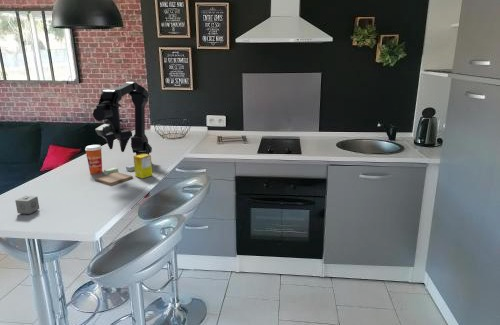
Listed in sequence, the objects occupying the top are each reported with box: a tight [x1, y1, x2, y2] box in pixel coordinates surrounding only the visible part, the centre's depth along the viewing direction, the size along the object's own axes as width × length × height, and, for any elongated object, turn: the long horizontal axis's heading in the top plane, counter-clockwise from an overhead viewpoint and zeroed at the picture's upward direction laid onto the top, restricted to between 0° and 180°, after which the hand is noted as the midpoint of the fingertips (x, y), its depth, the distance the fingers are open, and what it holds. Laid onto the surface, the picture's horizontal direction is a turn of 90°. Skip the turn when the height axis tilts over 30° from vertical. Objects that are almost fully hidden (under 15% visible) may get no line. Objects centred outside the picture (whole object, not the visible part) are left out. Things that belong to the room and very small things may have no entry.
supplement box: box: [133, 154, 153, 180], centre depth 174 cm, size 6×6×11 cm
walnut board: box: [94, 171, 134, 186], centre depth 171 cm, size 12×12×2 cm
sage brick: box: [103, 167, 119, 176], centre depth 179 cm, size 6×3×3 cm, turn 146°
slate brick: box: [125, 164, 135, 172], centre depth 185 cm, size 6×3×3 cm, turn 146°
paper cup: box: [84, 144, 103, 175], centre depth 180 cm, size 8×8×14 cm
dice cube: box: [15, 195, 40, 215], centre depth 135 cm, size 5×5×5 cm
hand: (116, 150), depth 171 cm, fingers open, 9 cm apart
